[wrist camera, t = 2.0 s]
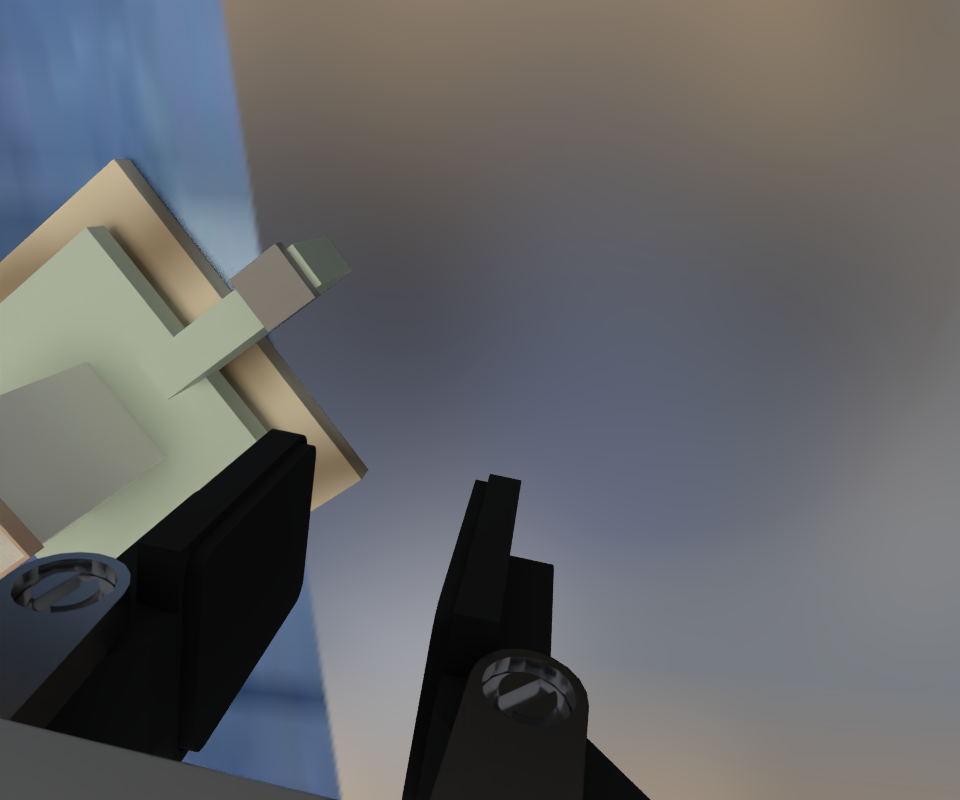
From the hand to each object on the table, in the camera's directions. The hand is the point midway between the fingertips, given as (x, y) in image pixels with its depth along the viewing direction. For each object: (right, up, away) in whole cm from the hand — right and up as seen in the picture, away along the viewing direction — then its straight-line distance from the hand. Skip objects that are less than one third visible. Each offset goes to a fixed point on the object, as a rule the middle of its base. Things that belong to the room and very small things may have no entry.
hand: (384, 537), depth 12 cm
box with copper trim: (-18, 0, +21) cm, 28 cm away
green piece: (-13, +3, +21) cm, 25 cm away
